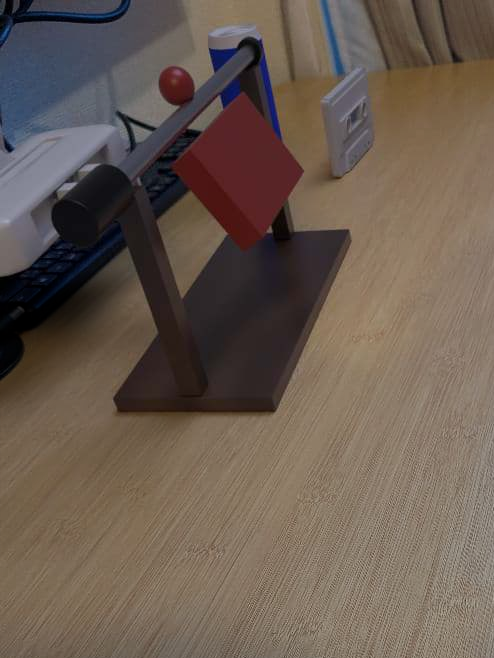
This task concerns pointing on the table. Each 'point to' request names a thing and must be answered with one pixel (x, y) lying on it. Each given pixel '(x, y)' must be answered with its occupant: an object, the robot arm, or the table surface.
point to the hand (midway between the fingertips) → (133, 187)
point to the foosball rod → (196, 162)
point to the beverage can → (225, 48)
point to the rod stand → (228, 308)
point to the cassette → (348, 121)
